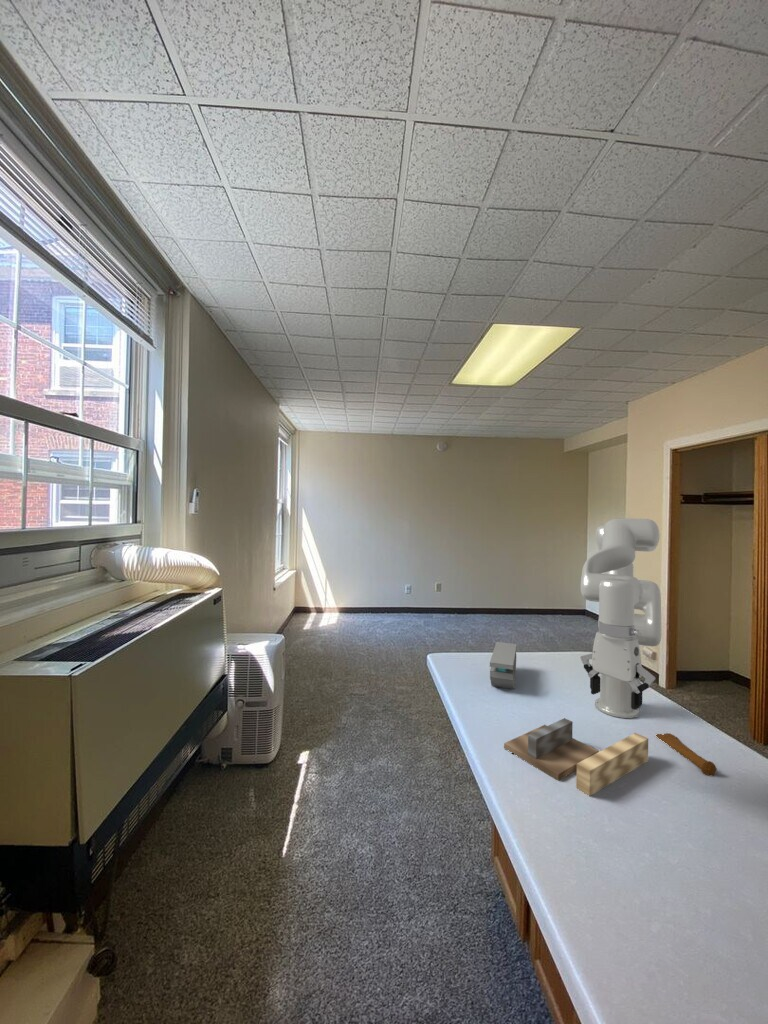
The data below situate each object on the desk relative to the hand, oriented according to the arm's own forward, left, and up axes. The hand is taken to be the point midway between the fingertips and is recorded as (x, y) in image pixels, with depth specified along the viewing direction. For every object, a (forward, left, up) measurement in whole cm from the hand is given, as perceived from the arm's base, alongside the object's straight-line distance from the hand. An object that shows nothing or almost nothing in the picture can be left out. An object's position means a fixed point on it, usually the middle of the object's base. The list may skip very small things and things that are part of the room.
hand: (615, 700), depth 103 cm
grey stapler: (-22, -52, -18) cm, 59 cm away
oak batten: (0, 0, -18) cm, 18 cm away
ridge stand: (+5, -14, -18) cm, 23 cm away
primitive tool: (-25, +5, -19) cm, 32 cm away
